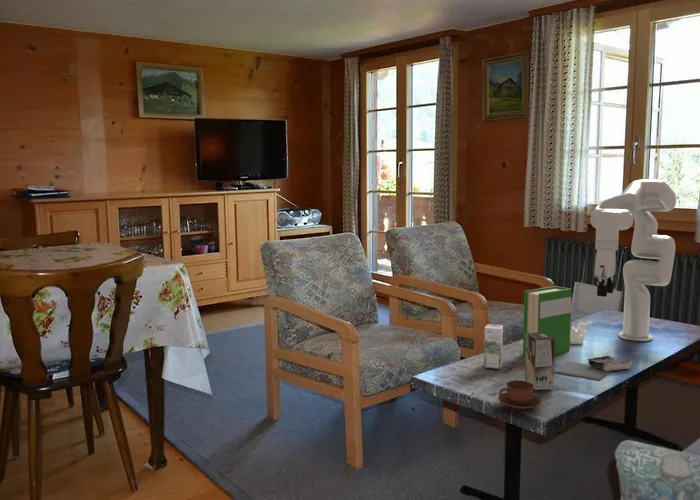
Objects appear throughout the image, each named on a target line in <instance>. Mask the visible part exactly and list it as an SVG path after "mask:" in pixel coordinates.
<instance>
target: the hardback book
mask: <svg viewBox="0 0 700 500" xmlns="http://www.w3.org/2000/svg"><path fill="white" fill-rule="evenodd" d="M572 291H573V289H572V288H569V287H564V286H563V287H562V286H557V285H553V286H549V287H540V288H533V289H528V290H524V291H523V292H524V294H523V299H524V300H523V302H524V303H523V332H522V333H523V337H522V338H523V339H522V355H524V356H525V355H526V333H536V332H544V333H546V334H547V335H549V336H550V337H552V338H554V339H555V345H554V356H557V355H560V354H564V353H567V352H570V350H571V346H570V345H571V344H570V332H571V322H572V295H573V292H572Z"/></svg>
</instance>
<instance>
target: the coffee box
mask: <svg viewBox="0 0 700 500" xmlns="http://www.w3.org/2000/svg"><path fill="white" fill-rule="evenodd" d="M554 345H555V339H554V338H552V337H550V336H549V335H547V334H546V333H544V332H536V333H526V355H524V356H525V361H524V363H525V367H524V368H525V370H524V374H525V375H524V381H526V382H529V383H531V384H533V390H534V391H537V390H539V391H540V390H554V377H555V373H554V371H555V355H554Z"/></svg>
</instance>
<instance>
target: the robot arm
mask: <svg viewBox="0 0 700 500" xmlns="http://www.w3.org/2000/svg"><path fill="white" fill-rule="evenodd" d="M676 205H677V197H676V194H675V192H674V190H673V189H672V188H671V187H670V186H669V184H667V182H665V181H664V180H660V179H637V180H633V181H632V182H630V183H628V185H627V186H626V187H625V189H624V190H623V191H622V192H621V193H620V194H619V195H615V196H612V197H610V198H607V199H604V200H603V201H600V202H599V203H598V204H597V206H596V207H595V208H594V209H593V210H592V212H591V215H590V225H591V226H592V227H593V228H595V250H596V253H595V260H594V261H595V262H594V275H593V276H594V277H595V278H597V282H596V283H597V287H596V296H597V297H605V298H606V297H607V295H608V294H613V293H614V275H616V268H617V267H616V264H617V263H616V261H617V259H616V258H617V257H616V256H617V255H616V254H617V253H616V251H619V242H620V241H619V236H620V234H619V233H620V231H625V230H628V229H630V228H631V227H632V226H633V223H634V227H633V229H634V230H633V235H632V239H631V240H632V241H631V247H630V249H631V250H630V251H631V252H630V253H631V254H632V255H633V256H634V257H635V258H636V257H637V258H642V259H631V260H628V261H626V262H625V263H624V264H623V268H622V276H623V281H624V282H623V283H624V298H623V299H624V300H623V318H622V319H623V320H622V321H623V323H622V331H619V332H618V337H619V338H621V339H623V340H627V341H635V342H648V341H649V342H650V341H652V340H653V339H654V336H653V335H652V334H651V333H650V318H651V317H650V312H651V311H650V310H651V293H650V291H649V289H648V288H647V287H646V286H655V287H656V286H657V287H658V286H659V287H666V286H668V285H669V284H670V283H671V280H672V275H673V274H672V273H673V267H674V260H675V255H676V242H675V239H674V238H673V237H672V236H669V235H665V234H663V235H662V234H661V235H660V234H658V228H659V223H658V221H657V219H656V218H655V216H654V215H653V214H652V213H651V212H660V213H661V212H663V213H664V212H671V211H673V210H674V209H675V207H676ZM644 259H653V260H655V261H653V260H644ZM656 260H659V261H656Z"/></svg>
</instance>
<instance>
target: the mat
mask: <svg viewBox="0 0 700 500" xmlns="http://www.w3.org/2000/svg"><path fill="white" fill-rule="evenodd" d="M612 371H613V370H610V371H604V370H601V369H598V368H593V367H591V366H590V365H589V363H588V364H587V363H582V362H581V363H580V362H574V361H569V360H568V361H565V362H564V363H563V364H562V365H560V366H559V367H557V368H556V369H554V374H555V373H556V374H560V375H565V376H571V377H576V378H582V379H588V380H592V381H602V380H603V379H604V378H605V377H606V376H607V375H609V374H610V373H611V372H612Z"/></svg>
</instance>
